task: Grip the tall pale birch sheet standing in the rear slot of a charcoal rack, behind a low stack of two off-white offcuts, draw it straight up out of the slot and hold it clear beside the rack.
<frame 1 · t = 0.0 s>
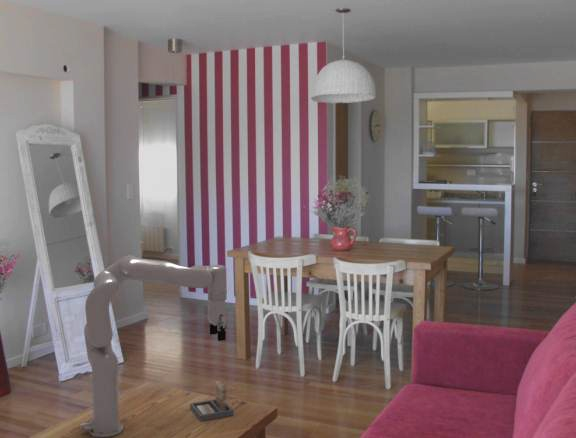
hand: (217, 337, 266), 31 cm above the table, fingers open, 9 cm apart
offcut upper: (206, 413, 265), point 1 cm above the table, touching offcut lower
rack: (212, 413, 266), on the table
birch sheet: (221, 412, 268), on the table
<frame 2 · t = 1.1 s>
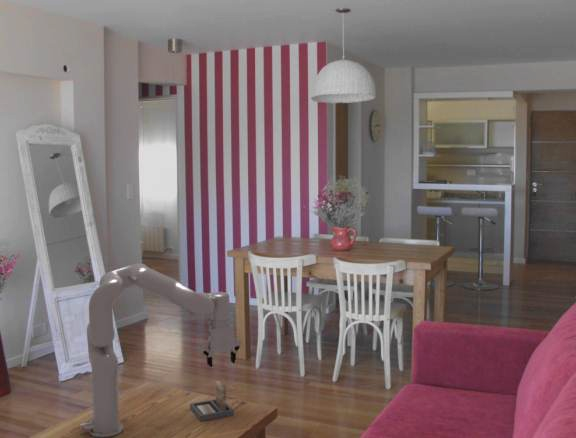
hand: (221, 364, 266), 20 cm above the table, fingers open, 9 cm apart
offcut upper: (206, 412, 265), point 1 cm above the table
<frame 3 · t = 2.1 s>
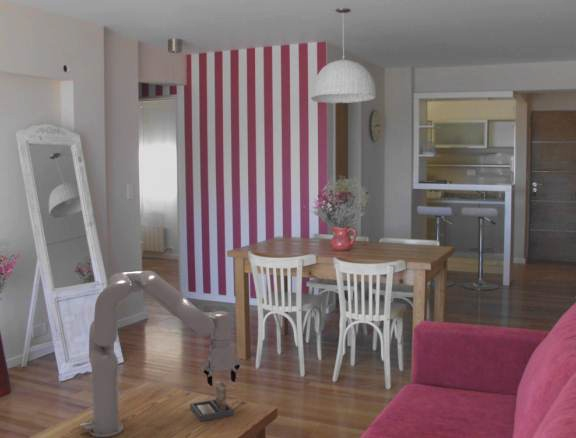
hand: (221, 382, 266), 12 cm above the table, fingers open, 9 cm apart
offcut upper: (206, 412, 265), point 1 cm above the table, touching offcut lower
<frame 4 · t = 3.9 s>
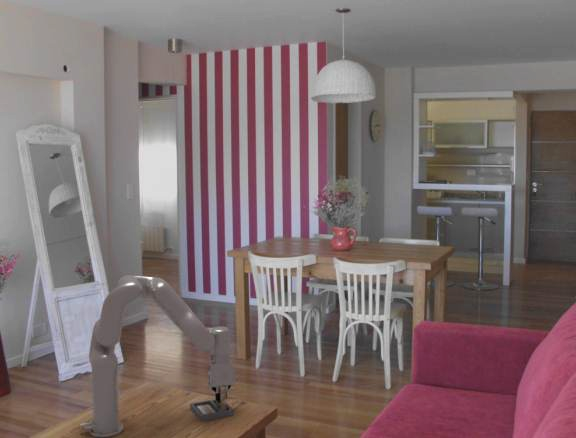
hand: (221, 400, 267), 5 cm above the table, fingers closed on birch sheet, 1 cm apart
birch sheet: (221, 412, 268), on the table, touching gripper
everything else where it was.
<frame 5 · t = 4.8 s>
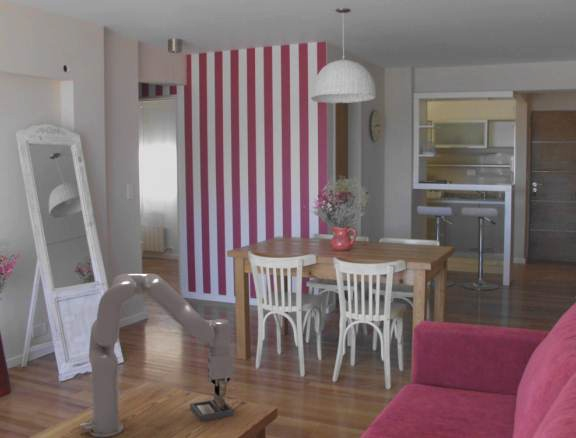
hand: (220, 393, 267), 8 cm above the table, fingers closed on birch sheet
birch sheet: (218, 404, 269), point 3 cm above the table, tilted 16°, touching gripper
everything else where it was.
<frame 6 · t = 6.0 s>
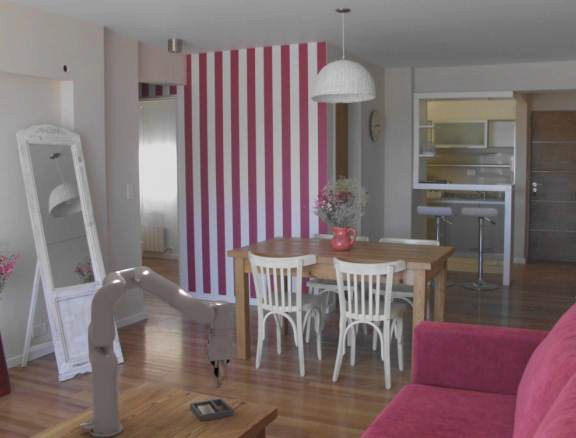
hand: (219, 375, 266), 16 cm above the table, fingers closed on birch sheet
birch sheet: (215, 380, 271), point 12 cm above the table, tilted 45°, touching gripper
everything else where it was.
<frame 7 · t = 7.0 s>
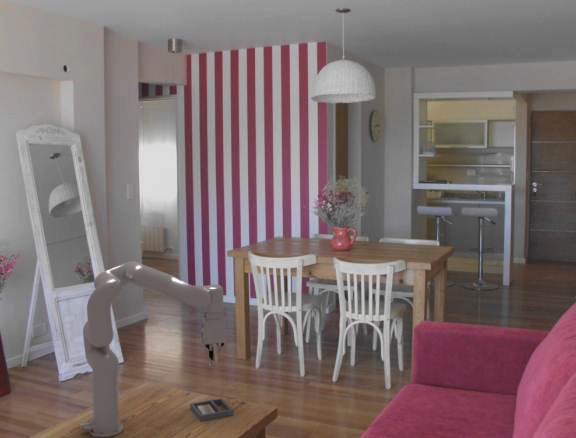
hand: (214, 358, 270), 21 cm above the table, fingers closed on birch sheet
birch sheet: (210, 358, 276), point 19 cm above the table, tilted 65°, touching gripper
everything else where it was.
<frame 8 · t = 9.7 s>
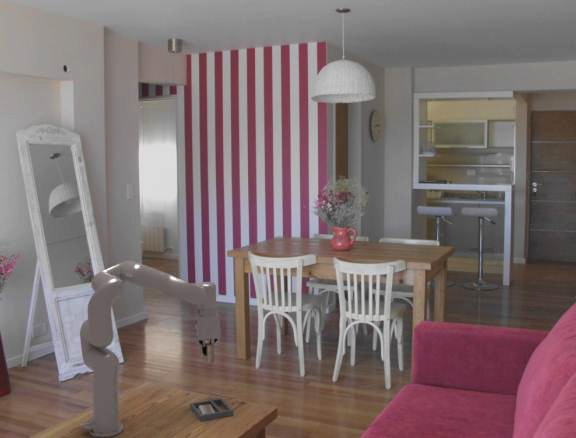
hand: (207, 354, 276), 21 cm above the table, fingers closed on birch sheet
birch sheet: (202, 348, 282), point 22 cm above the table, tilted 87°, touching gripper
everything else where it was.
at the end: the gripper is holding birch sheet; birch sheet point 21.7 cm above the table; offcut upper moved 0.9 cm from its start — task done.
